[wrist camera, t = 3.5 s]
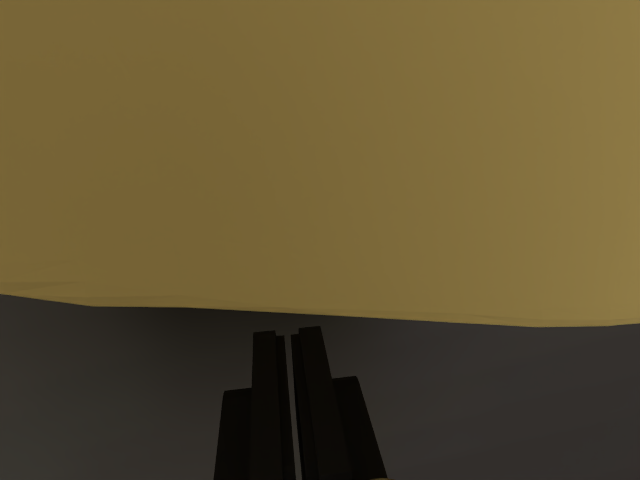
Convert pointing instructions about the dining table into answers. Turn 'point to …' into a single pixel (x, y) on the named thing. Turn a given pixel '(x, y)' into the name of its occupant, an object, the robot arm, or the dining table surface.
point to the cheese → (325, 157)
